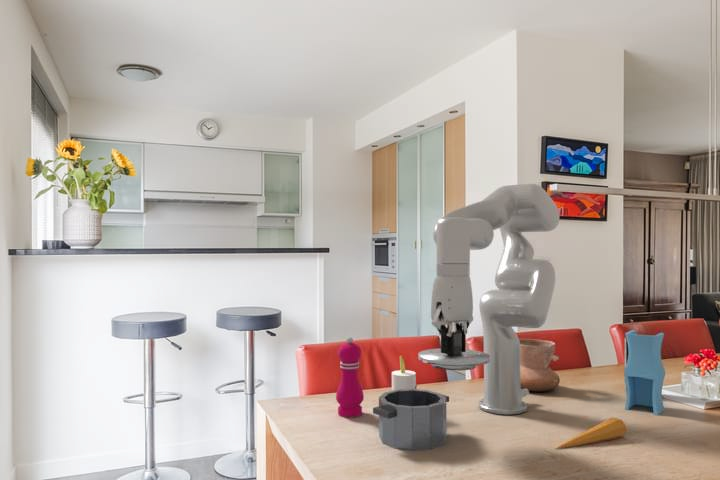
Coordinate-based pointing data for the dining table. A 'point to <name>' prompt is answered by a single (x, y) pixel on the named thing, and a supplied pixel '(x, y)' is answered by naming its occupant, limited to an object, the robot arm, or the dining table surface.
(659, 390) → the blue tall piece
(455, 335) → the lid
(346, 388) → the pepper mill
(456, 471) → the dining table surface
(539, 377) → the ceramic jug
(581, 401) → the dining table surface
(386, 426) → the pot
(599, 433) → the carrot
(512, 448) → the dining table surface
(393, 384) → the candle
